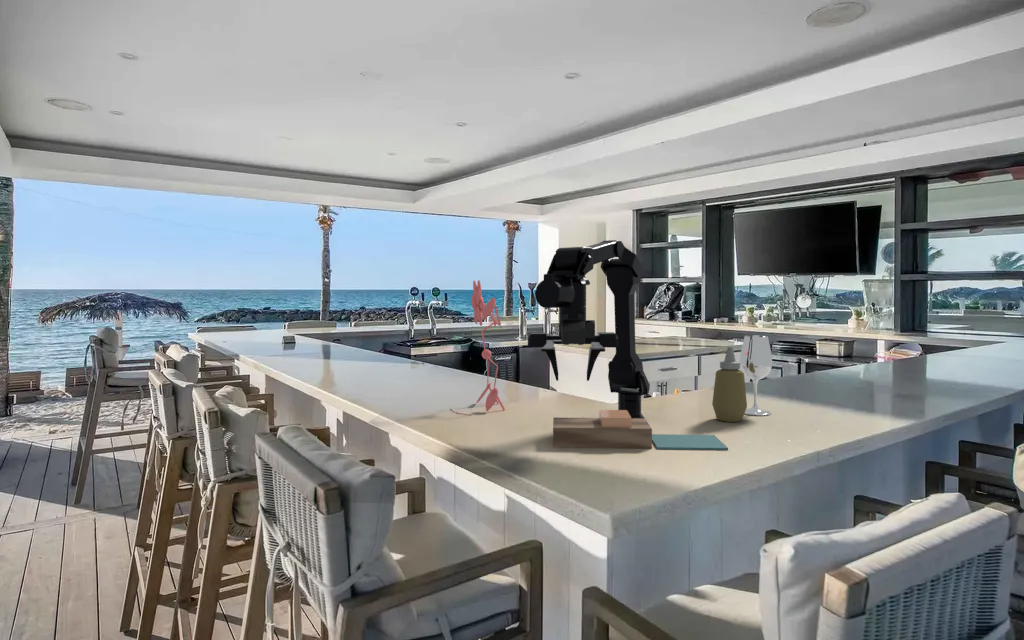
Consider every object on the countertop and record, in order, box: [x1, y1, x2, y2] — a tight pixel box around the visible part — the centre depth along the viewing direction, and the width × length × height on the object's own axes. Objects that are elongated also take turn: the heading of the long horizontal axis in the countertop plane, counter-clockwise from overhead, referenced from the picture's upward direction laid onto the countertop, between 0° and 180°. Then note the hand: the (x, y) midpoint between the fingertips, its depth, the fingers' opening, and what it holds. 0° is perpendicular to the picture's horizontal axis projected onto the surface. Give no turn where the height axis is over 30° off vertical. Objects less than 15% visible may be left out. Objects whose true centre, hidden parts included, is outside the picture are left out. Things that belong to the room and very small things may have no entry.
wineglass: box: [739, 334, 773, 417], centre depth 158 cm, size 8×8×20 cm
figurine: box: [452, 279, 506, 416], centre depth 166 cm, size 15×26×35 cm, turn 12°
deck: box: [552, 417, 653, 449], centre depth 130 cm, size 10×20×4 cm, turn 86°
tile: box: [598, 409, 631, 428], centre depth 130 cm, size 8×6×2 cm
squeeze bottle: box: [711, 346, 748, 423], centre depth 150 cm, size 8×8×18 cm
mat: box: [652, 433, 729, 451], centre depth 129 cm, size 11×14×1 cm
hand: (572, 380), depth 130 cm, fingers open, 6 cm apart
